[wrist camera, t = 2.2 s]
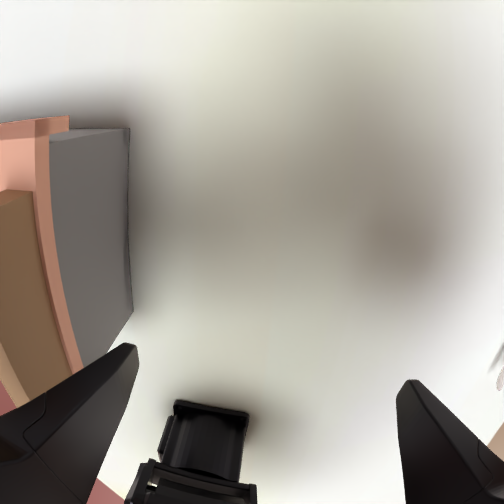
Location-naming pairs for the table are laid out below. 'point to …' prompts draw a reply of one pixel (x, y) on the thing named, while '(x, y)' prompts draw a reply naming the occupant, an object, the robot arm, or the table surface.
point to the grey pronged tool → (500, 380)
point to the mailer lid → (31, 266)
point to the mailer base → (92, 232)
